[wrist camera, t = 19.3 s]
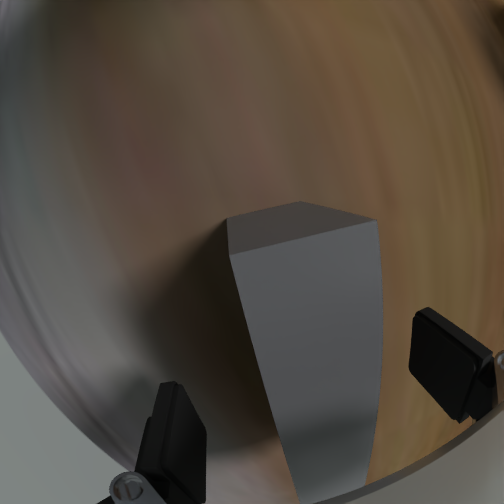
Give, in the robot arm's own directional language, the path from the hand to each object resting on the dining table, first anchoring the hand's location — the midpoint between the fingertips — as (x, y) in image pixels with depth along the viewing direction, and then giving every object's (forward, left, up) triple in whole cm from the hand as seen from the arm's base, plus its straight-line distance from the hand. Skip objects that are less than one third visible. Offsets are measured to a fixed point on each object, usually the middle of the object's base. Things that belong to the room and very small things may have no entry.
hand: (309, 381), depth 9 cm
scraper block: (0, 0, -3) cm, 3 cm away
